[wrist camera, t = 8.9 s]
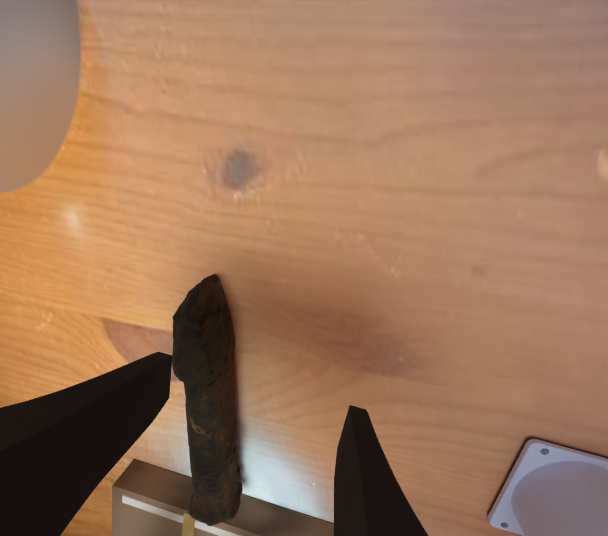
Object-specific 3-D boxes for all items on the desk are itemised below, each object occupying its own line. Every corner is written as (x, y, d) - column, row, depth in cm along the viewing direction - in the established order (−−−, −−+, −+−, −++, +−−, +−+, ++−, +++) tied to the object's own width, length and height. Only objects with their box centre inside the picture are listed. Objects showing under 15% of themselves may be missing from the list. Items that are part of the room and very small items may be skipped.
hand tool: (248, 483, 26) (227, 545, 21) (205, 474, 26) (175, 532, 22) (255, 276, 21) (229, 300, 16) (201, 270, 21) (161, 291, 17)
